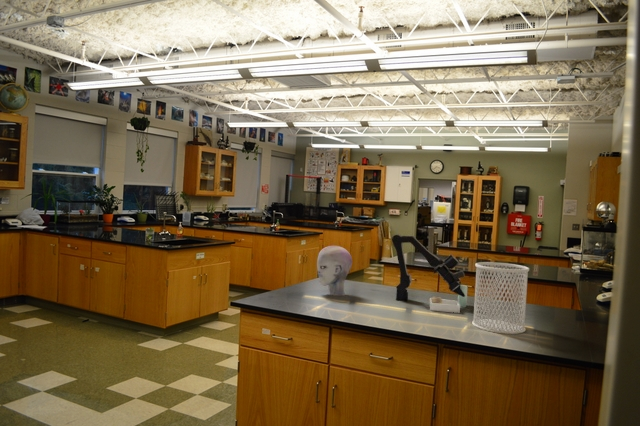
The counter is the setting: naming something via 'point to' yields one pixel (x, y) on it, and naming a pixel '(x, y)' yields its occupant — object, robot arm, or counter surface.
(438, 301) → the cube
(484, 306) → the wastebasket
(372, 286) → the counter surface
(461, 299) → the canister
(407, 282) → the robot arm
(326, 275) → the sculpture
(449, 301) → the tote
